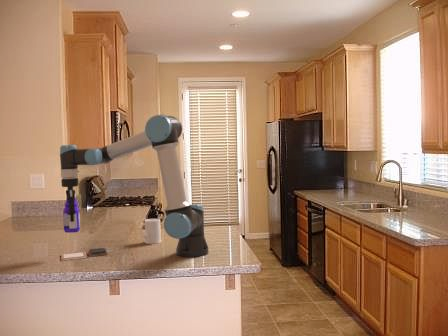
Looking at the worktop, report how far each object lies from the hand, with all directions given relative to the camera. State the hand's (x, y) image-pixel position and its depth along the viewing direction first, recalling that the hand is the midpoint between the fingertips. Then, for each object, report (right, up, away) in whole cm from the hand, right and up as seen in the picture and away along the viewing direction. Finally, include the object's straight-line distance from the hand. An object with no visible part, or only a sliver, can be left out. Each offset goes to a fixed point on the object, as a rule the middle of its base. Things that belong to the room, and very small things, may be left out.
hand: (72, 227), depth 213 cm
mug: (+33, -12, +26) cm, 43 cm away
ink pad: (+11, -14, +5) cm, 18 cm away
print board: (+1, -14, +1) cm, 14 cm away
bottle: (0, -3, 0) cm, 3 cm away
